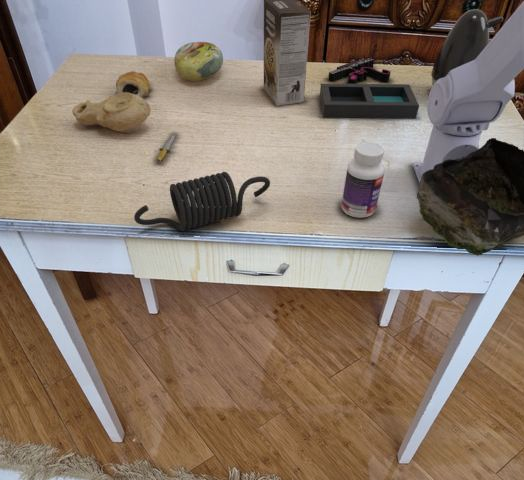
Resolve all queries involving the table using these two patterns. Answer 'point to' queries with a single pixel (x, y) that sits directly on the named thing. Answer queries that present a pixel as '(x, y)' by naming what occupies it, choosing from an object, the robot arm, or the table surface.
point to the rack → (368, 101)
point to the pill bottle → (363, 180)
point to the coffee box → (285, 50)
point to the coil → (204, 201)
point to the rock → (476, 198)
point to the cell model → (198, 60)
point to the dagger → (165, 149)
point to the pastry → (133, 84)
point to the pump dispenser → (463, 42)
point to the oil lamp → (114, 112)
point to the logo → (359, 72)
